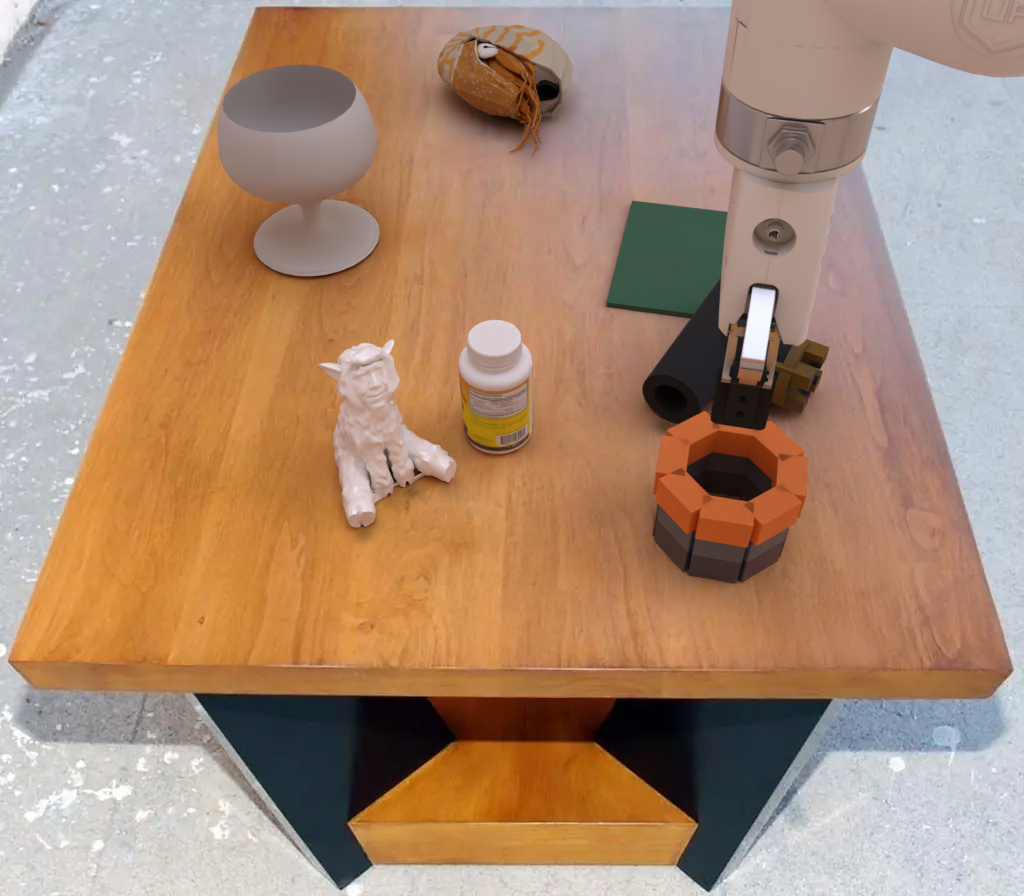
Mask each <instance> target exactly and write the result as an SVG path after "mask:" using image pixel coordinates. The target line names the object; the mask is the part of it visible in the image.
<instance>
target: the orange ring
mask: <svg viewBox="0 0 1024 896" xmlns="http://www.w3.org/2000/svg"><path fill="white" fill-rule="evenodd" d="M710 417H711V414H709V413H708V412H707V411H706V410H703V411H701V412H700V414H698V415H696V416H694V417H692V418H690V419H688V420H686V421H684V422H682V423H677V424H676V425H674V426H671V427H670V428H668V429H666V432H665V433H666V434H663V435H661V438H660V439H661V441H660V446H659V451H658V457H657V458H658V459H657V464H656V469H655V475H654V481H653V489H652V494H653V495H655V500H654V501H655V502H656V504H657V503H658V504H659V505H660V506H661V507H662V508H663V510H664V511H665V512H666V513H667V514H668V515H669V516H670V517H671V518H672V519H673V520H674V521H675V522H676V523H677V524H678V526H679V527H680V528H681V529H682V530H683V531H684V532H685V533H686V534H689V533H691V532H693V531H694V530H696V534H695V539H700V540H705V541H711V542H717V543H723V544H729V545H735V546H741V547H748V544H749V541H750V540H751V541H752V542H753V543H754V544H755V545H756V546H757V545H759V544H761V543H763V542H764V541H766V540H768V539H769V538H771V537H773V536H775V535H776V534H778V533H780V532H782V531H783V530H785V529H787V528H789V527H790V528H791V527H793V525H795V524H796V522H797V519H800V517H801V514H802V511H803V508H804V505H805V501H806V499H807V491H808V489H807V488H808V467H809V466H808V465H809V457H807V456H804V454H805V450H804V449H803V448H802V447H800V445H799V444H797V443H796V442H795V441H794V440H793V439H792V438H791V437H790V436H789V435H787V433H785V432H784V431H783V430H782V429H781V428H780V427H779V426H778V425H776V424H775V423H774V422H773V420H767V423H766V427H765V429H763V430H753V429H746V428H740V427H733V426H727V425H721V424H715V423H713V422H712V421H711V420H710ZM713 452H715V453H721V454H728V455H734V456H741V457H747V458H749V459H750V460H751V461H752V462H753V463H755V464H756V465H757V466H758V467H759V468H760V469H761V470H762V471H763V472H764V473H765V474H766V475H767V476H768V477H769V478H770V479H771V480H772V486H771V489H770V490H768V491H766V492H765V493H763V494H761V495H759V496H757V497H756V498H754V499H752V500H750V501H748V502H747V501H745V500H740V499H734V498H727V497H721V496H717V495H710V494H709V493H708V492H707V490H704V489H703V488H702V487H701V486H700V485H699V484H698V483H697V482H696V481H695V480H694V479H693V478H692V477H691V476H690V475H689V474H688V473H687V472H686V469H687V466H688V465H690V464H692V463H693V462H695V461H697V460H699V459H701V458H703V457H705V456H707V455H709V454H711V453H713ZM790 528H789V529H790Z"/></svg>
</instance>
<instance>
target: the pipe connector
mask: <svg viewBox="0 0 1024 896" xmlns="http://www.w3.org/2000/svg"><path fill="white" fill-rule="evenodd" d="M720 288H721V278H720V279H719V281H718V282H717V283H716V285H715V286H714V288H713V289H712V290H711V292H710V293H709V294H708V296H707V297H706V298H705V300H704V301H703V302H702V304H701V305H700V307H699V308H698V309H697V311H696V312H695V313H694V315H693V316H692V317H691V318H690V319H689V320H688V321H687V323H685V325H684V327H683V328H682V329H681V331H680V332H679V334H678V335H677V336H676V338H675V339H674V341H673V342H672V343H671V344H670V346H669V348H668V349H667V350H666V351H665V353H664V354H663V355H662V357H660V360H659V361H658V362H657V364H656V365H655V366H654V367H653V369H652V370H651V372H650V373H649V375H648V376H647V377H646V379H645V380H644V382H643V384H642V387H641V388H642V389H641V390H642V391H641V392H642V396H643V398H644V401H645V403H646V404H647V406H648V407H649V408H650V409H651V410H652V411H653V412H654V413H655V414H657V415H658V416H659V417H661V418H662V419H663V420H666V421H669V422H671V423H674V424H680V423H682V422H684V421H686V420H688V419H690V418H692V417H694V416H696V415H698V414H700V413H702V412H703V409H704V408H705V406H706V405H707V403H708V402H709V401H710V399H711V398H712V396H713V395H714V393H715V388H716V382H717V376H718V370H719V368H723V367H724V361H725V355H726V349H727V343H728V337H729V332H728V334H727V336H726V335H724V334H723V333H722V332H721V330H720V329H719V327H718V325H719V304H720ZM746 322H747V320H745V319H738V324H737V325H738V326H745V327H746ZM743 341H744V338H743V337H738V341H737V347H736V353H735V359H734V363H735V361H736V360H737V361H740V357H741V352H742V347H743ZM768 344H769V341H768ZM767 350H768V345H767ZM829 351H830V347H829V346H827V345H824V344H821V343H820V342H816V341H814V340H810V339H808V338H807V339H806V340H805V341H804V342H803V343H802V344H800V345H799V346H794V345H791V344H784V343H783V341H782V339H780V342H779V348H778V354H777V359H776V365H775V371H774V376H777V377H776V384H775V388H774V393H773V397H772V401H771V404H774V405H776V406H779V407H782V408H785V409H786V410H789V411H791V412H795V413H797V414H800V415H802V413H803V412H804V410H805V408H806V406H807V405H808V402H809V399H810V395H811V393H812V394H813V393H815V392H816V390H817V388H818V386H819V384H820V383H821V379H822V376H823V370H821V369H822V367H823V365H824V364H825V362H826V360H827V358H828V354H829ZM766 356H767V352H766ZM765 362H766V358H765ZM733 366H734V365H733Z"/></svg>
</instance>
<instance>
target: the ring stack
mask: <svg viewBox="0 0 1024 896" xmlns="http://www.w3.org/2000/svg"><path fill="white" fill-rule="evenodd" d="M686 472H687V473H688V474H689V475H690V476H691V477H692V478H693V479H694V480H695V481H696V482H697V483H698V484H699V485H700V486H701V487H702V488H703V489H704V490H705V491H706V492H707V491H708V492H714V493H720V494H726V495H727V494H728V495H731V496H732V495H734V496H738V497H741V498H742V499H743V501H747V502H748V501H750V500H752V499H754V498H756V497H757V496H759V495H761V494H763V493H765V492H766V491H768V490H770V489H771V486H772V480H771V479H770V478H769V477H768V476H767V475H766V474H765V473H764V472H763V471H762V470H761V469H760V468H759V467H758V466H757V465H756V464H755V463H753V462H752V461H751V460H750V459H749V458H747V457H741V456H734V455H728V454H721V453H715V452H713V453H711V454H709V455H707V456H705V457H703V458H701V459H699V460H697V461H695V462H693V463H692V464H690V465H688V466H687V469H686ZM790 528H791V526H790V527H789V528H787V529H785V530H783V531H782V532H780V533H778V534H776V535H775V536H773V537H771V538H769V539H768V540H766V541H764V542H763V543H761V544H759V545H757V546H756V545H755V544H754V543H753V542H752V541H751V540H750V541H749V544H748V547H741V546H735V545H729V544H723V543H717V542H711V541H705V540H700V539H695V534H696V530H694V531H693V532H691V533H689V534H686V533H685V532H684V531H683V530H682V529H681V528H680V527H679V526H678V524H677V523H676V522H675V521H674V520H673V519H672V518H671V517H670V516H669V515H668V514H667V513H666V512H665V511H664V510H663V508H662V507H661V506H660V505H659V504H658V503H657V502H656V509H655V516H654V523H653V527H652V537H653V540H654V542H655V543H656V544H657V546H659V547H660V548H661V550H662V551H663V552H664V553H665V554H666V555H667V556H668V558H670V559H671V561H672V562H673V563H674V564H675V565H676V567H678V569H679V570H680V571H681V572H682V573H684V572H686V571H687V575H688V576H693V577H698V578H705V579H710V580H716V581H721V582H728V583H731V584H736V583H738V580H739V581H740V582H741V583H743V582H745V581H747V580H748V579H750V578H751V577H753V576H755V575H757V574H759V573H760V572H761V571H763V570H765V569H767V568H768V567H770V566H772V565H774V564H775V563H777V562H778V560H779V558H781V556H782V553H783V550H784V547H785V544H786V541H787V537H788V534H789V531H790Z"/></svg>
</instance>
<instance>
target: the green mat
mask: <svg viewBox="0 0 1024 896" xmlns="http://www.w3.org/2000/svg"><path fill="white" fill-rule="evenodd" d="M727 213H728V211H726V210H725V211H724V210H715V209H709V208H708V209H707V208H698V207H690V206H683V205H674V204H666V203H658V202H657V203H656V202H650V201H649V202H648V201H639V200H631V204H630V207H629V211H628V215H627V219H626V224H625V227H624V231H623V236H622V239H621V244H620V247H619V251H618V255H617V258H616V259H617V260H616V263H615V267H614V270H613V271H614V272H613V275H612V279H611V283H610V287H609V291H608V296H607V298H606V305H605V306H606V307H610V308H617V309H625V310H633V311H639V312H647V313H653V314H654V313H655V314H662V315H669V316H677V317H683V318H684V317H685V318H690V319H691V317H692V316H693V315H694V313H695V312H696V311H697V309H698V308H699V307H700V305H701V304H702V302H703V301H704V300H705V298H706V297H707V296H708V294H709V293H710V292H711V290H712V289H713V288H714V286H715V285H716V283H717V282H718V281H719V279H720V278H721V273H722V260H723V248H724V238H725V229H726V221H727ZM774 326H775V322H773V323H771V326H770V329H771V330H774Z"/></svg>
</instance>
